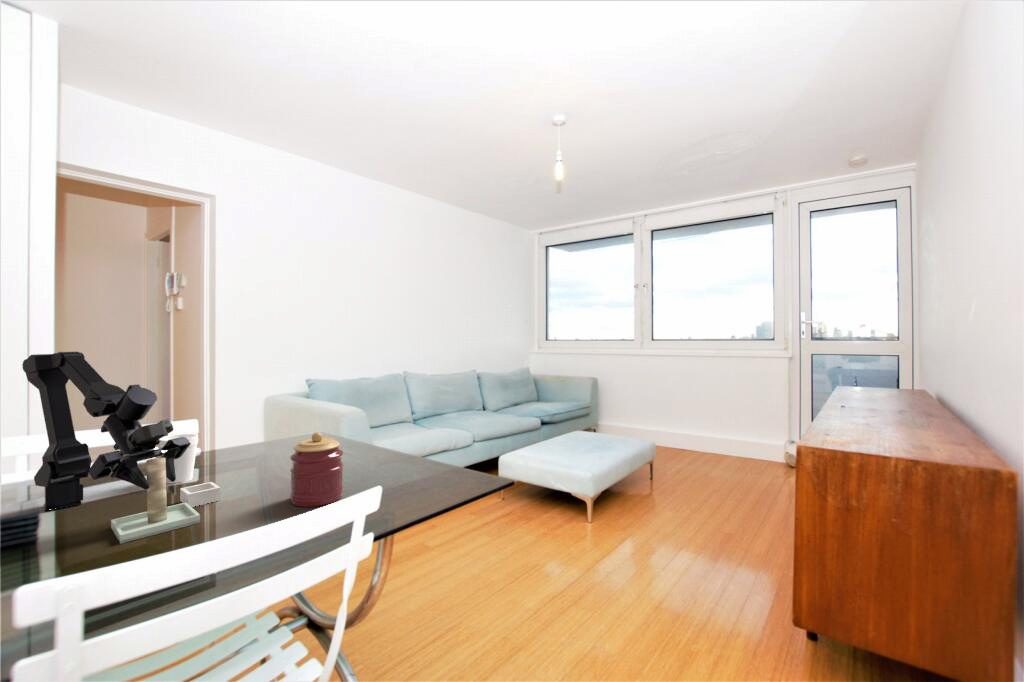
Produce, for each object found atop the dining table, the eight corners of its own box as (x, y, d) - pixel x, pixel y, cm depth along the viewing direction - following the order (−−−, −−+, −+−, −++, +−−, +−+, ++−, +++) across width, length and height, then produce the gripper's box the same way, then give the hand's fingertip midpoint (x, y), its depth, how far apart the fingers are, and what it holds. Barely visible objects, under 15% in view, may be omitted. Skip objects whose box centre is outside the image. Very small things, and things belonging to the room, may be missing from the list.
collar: (187, 508, 112) (187, 494, 112) (180, 501, 116) (180, 488, 116) (220, 500, 117) (220, 487, 117) (212, 494, 122) (211, 481, 122)
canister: (352, 497, 119) (352, 431, 119) (303, 512, 109) (302, 440, 109) (329, 487, 127) (329, 425, 127) (282, 499, 118) (281, 433, 118)
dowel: (145, 524, 101) (144, 462, 101) (150, 518, 104) (148, 458, 104) (164, 521, 102) (163, 460, 102) (168, 515, 105) (167, 456, 105)
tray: (120, 543, 93) (120, 535, 93) (111, 527, 100) (111, 519, 100) (200, 522, 103) (200, 514, 103) (186, 509, 111) (186, 502, 111)
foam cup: (206, 475, 138) (205, 434, 138) (181, 485, 129) (180, 440, 129) (178, 474, 139) (177, 433, 139) (151, 484, 130) (150, 440, 130)
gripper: (96, 417, 95) (132, 473, 92) (185, 405, 113) (217, 451, 110) (73, 451, 98) (107, 507, 94) (163, 433, 116) (194, 480, 112)
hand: (161, 484), depth 103 cm, fingers open, 5 cm apart
